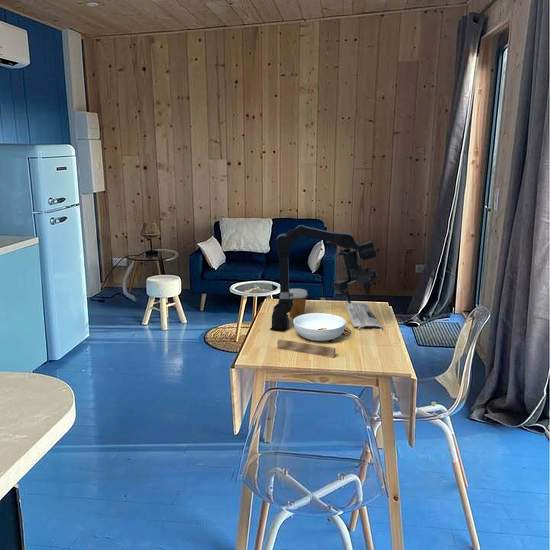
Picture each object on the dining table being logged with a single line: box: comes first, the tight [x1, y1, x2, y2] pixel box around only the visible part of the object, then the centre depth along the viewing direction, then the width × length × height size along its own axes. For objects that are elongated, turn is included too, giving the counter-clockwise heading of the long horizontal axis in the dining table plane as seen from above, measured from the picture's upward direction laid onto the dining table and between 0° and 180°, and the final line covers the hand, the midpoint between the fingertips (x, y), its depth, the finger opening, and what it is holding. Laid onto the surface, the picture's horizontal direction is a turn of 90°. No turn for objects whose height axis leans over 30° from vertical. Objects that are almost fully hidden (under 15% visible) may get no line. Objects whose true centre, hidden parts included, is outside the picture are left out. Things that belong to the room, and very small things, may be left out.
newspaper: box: [344, 300, 384, 331], centre depth 234 cm, size 35×12×4 cm, turn 2°
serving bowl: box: [292, 312, 347, 342], centre depth 208 cm, size 21×21×7 cm
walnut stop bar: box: [277, 339, 336, 359], centre depth 192 cm, size 22×2×3 cm, turn 66°
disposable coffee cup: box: [288, 288, 309, 320], centre depth 233 cm, size 10×10×12 cm
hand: (359, 299), depth 213 cm, fingers open, 9 cm apart
